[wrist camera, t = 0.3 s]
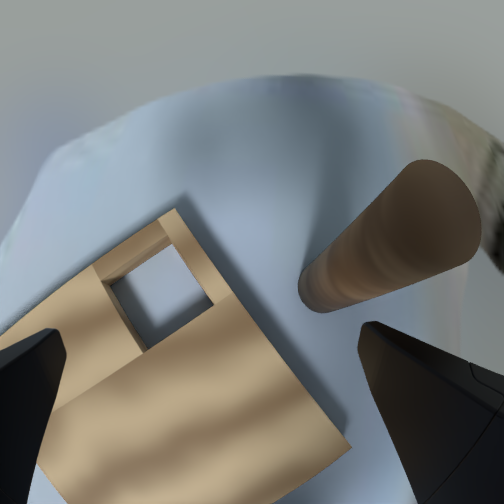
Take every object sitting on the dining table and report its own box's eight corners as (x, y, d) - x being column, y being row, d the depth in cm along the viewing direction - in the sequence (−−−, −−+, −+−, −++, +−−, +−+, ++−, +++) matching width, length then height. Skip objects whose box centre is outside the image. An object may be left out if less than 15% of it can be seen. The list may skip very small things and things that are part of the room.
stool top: (342, 440, 20) (352, 447, 18) (132, 552, 15) (127, 563, 13) (178, 218, 24) (174, 208, 22) (-7, 355, 19) (-20, 354, 17)
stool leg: (356, 292, 24) (493, 226, 9) (318, 323, 23) (447, 290, 8) (326, 252, 24) (434, 145, 10) (287, 281, 23) (374, 189, 9)
